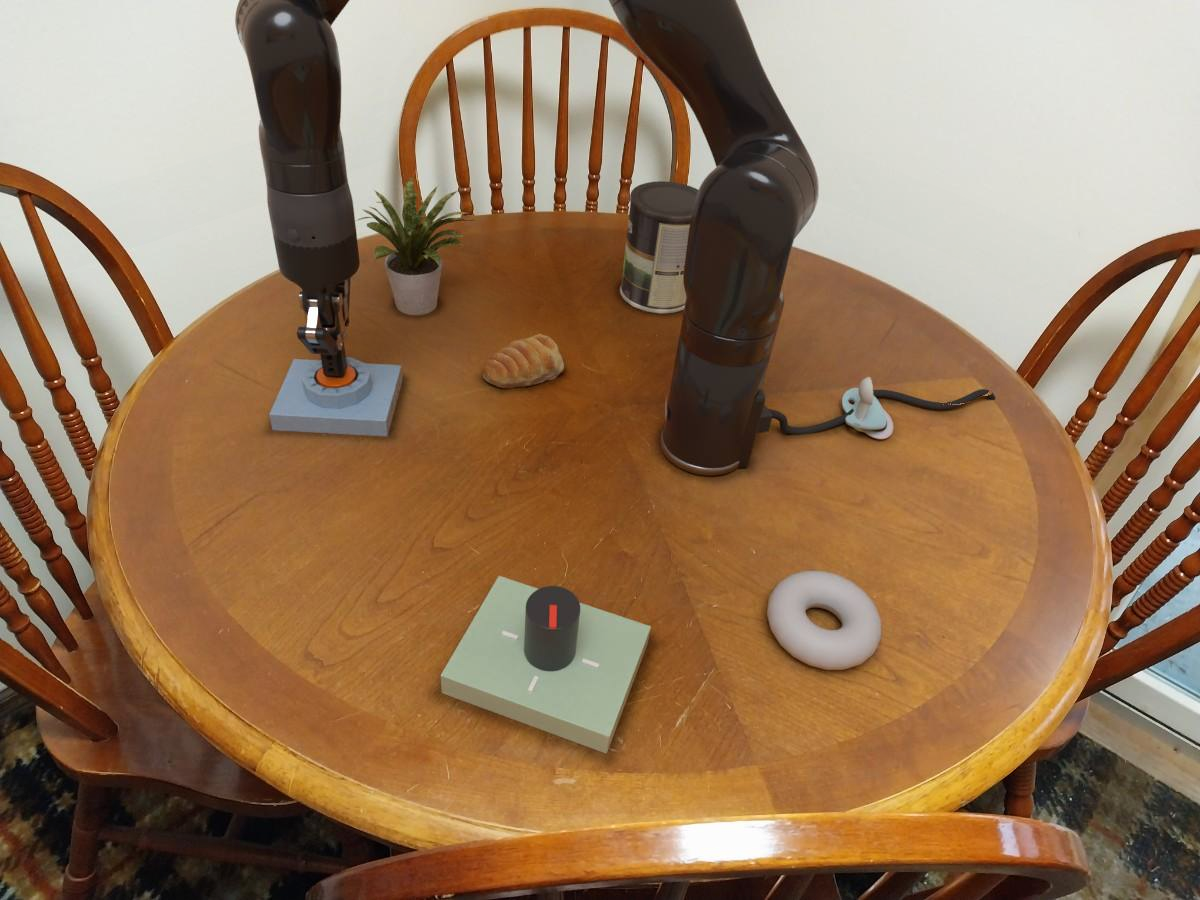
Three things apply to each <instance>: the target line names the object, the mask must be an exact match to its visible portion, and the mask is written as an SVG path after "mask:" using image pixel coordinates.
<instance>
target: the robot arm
mask: <svg viewBox="0 0 1200 900" xmlns="http://www.w3.org/2000/svg"><path fill="white" fill-rule="evenodd" d="M349 2H350V0H238V3H237V6H236V10H235V17H234V24H235V30H236V31H235V32H236V34H237V38H238V40H239V43H240V45H241V47H242V49H243V51H244V53H245V56H246V58H247V63H248V67H249V71H250V76H251V79H252V84H253V89H254V93H255V99H256V104H257V108H258V113H259V117H260V120H259V123H258V141H259V149H260V154H261V159H262V160H261V161H262V165H263V170H264V177H265V182H266V201H267V209H268V215H269V221H270V226H271V231H272V237H273V243H274V247H275V254H276V259H277V263H278V264H277V265H278V270H279V272H280V274H281V275H282V276H283V277H284V278H285V279H286V280H288V281H290V282H291V283H293V284H295V285H296V286H298V287H299V288H300V289H301V290H300V291H299V293H298V302H299V306H300V309H301V310H302V311H303V313H304V319H305V324H306V325H302V326H298V327H297V330H296V336H297V340H299V341H300V342H301V343H302V344H303V346H304V347H305V348H306V349H307V351H309V353H310V354H312V355H320V360H321V362H322V368H323V374H324V375H325V376H326V377H338V378H342V377H344V375H345V372H346V369H347V361H346V357H347V355H346V346H345V341H346V339H347V332H346V331H347V330H346V328H347V327H349V325H350V299H351V279H352V278H353V277H354V276H355V275H356V274H357V272H358V270H359V268H360V264H361V261H360V253H359V245H358V244H359V243H358V235H357V227H356V217H355V208H354V201H353V195H352V192H351V188H350V185H349V179H348V173H347V162H346V154H345V148H344V147H345V146H344V140H343V139H344V138H343V136H342V130H341V118H342V70H341V69H342V68H341V59H340V58H341V57H340V53H339V46H338V42H337V39H336V36H335V32H334V30H333V28H332V25H333V24H334V22H335V21H336V20H337V18H338V17H339V15H340V14H341V13H342V11H344V9H345V7H346V6H347V5H348V3H349ZM608 2H609V4H610V7H611V8H612V11H613V12H614V14H615V17H617V18H616V19H618V21H619V24H620V26H621V27H622V28H623V30H624V32H625V33H626V35H627V36H628V37H629V38H630V40H631V41H632V42H633V43H634V45H635V46H636V48H637V49H638V50H639V51H640V52H641V53H642V54H643V55H644V57H645V58H646V59H647V60H648V61H649V62H650V63H651V64H652V65H653V66H654V67H655V68H656V69H657V70H658V71H659V72H660V73H661V74H662V75H663V76H664V77H665V78H666V79H667V81H669V82H670V83H671V85H672V86H673V87H674V88H675V89H676V90H677V91H678V93H680V95H681V97H683V99H684V100H685V102H686V103H687V104H688V107H690V109H691V111H692V112H693V114H694V116H695V118H696V120H697V122H698V124H699V126H700V128H701V129H700V130H701V131H702V133H703V136H704V137H705V140H706V142H707V143H706V144H707V145H708V148H709V150H710V152H711V156H712V158H713V161H714V164H715V166H716V167H715V168H714V169H713V170H711V171H710V172H709V173H708V175H706V177H705V178H704V179H703V181H702V182H701V184H700V186H699V188H698V193H697V195H696V198H695V202H694V206H693V210H692V215H691V221H690V227H689V235H688V242H687V250H686V258H685V266H684V274H683V283H684V289H685V293H686V301H685V308H684V310H683V314H682V319H681V325H680V331H679V337H678V343H677V348H676V353H675V359H674V365H673V371H672V376H671V382H670V388H669V393H668V395H666V396H665V402H664V414H665V415H664V422H663V425H662V429H661V434H660V439H659V441H660V442H659V444H660V450H661V451H662V453H663V455H664V457H665V458H666V459H667V460H668V461H669V462H670V463H671V464H673V465H674V466H675V467H677V468H678V469H680V470H682V471H685V472H688V473H691V474H694V475H698V476H706V477H714V476H715V477H717V476H722V475H726V474H727V475H728V474H729V473H732V472H734V471H736V470H737V469H747V468H748V467H749V464H750V463H749V462H750V459H751V456H752V452H753V451H752V450H753V449H754V446H755V445H754V444H755V440H756V437H757V434H762V433H769V431H770V427H771V425H772V421H773V419H774V420H777V421H778V422H779V428H780V430H781V431H782V432H783V433H785V434H787V435H792V436H802V435H811V434H816V433H821V432H824V431H826V430H830V429H832V428H835V427H837V426H840V425H842V424H844V423H846V422H845V419H846V417H847V416H848V415H851V414H852V413H853V412H854V410H853V408H852V409H851V410H850V411H849V412H848V413H847V412H846V413H845V412H844V413H843V414H841V415H840V416H837V417H835V418H833V419H830V420H826V421H824V422H820V423H817V424H813V425H809V426H803V427H800V426H799V427H798V426H797V427H796V426H791V425H789V423H788V422H789V421H788V418H787V416H786V415H785V414H784V413H782V412H780V411H779V410H776V409H771V408H768V407H767V405H766V400H767V399H766V397H767V396H766V393H765V388H764V383H765V378H766V374H767V371H768V367H769V365H770V360H771V356H772V351H773V347H774V344H775V342H776V341H775V340H776V337H777V333H778V329H779V326H780V322H781V318H782V315H783V311H784V306H785V297H784V294H783V291H782V288H783V284H784V283H783V282H784V280H785V275H786V271H787V267H788V262H789V259H790V255H791V252H792V249H793V248H792V247H793V246H794V245H793V244H794V241H795V239H796V238H797V237H798V235H800V233H801V231H802V230H803V229H804V227H805V226H806V225H808V224H807V223H808V222H809V220H810V219H811V217H812V216H813V214H814V212H815V210H816V207H817V204H818V202H819V201H818V200H819V195H820V194H819V190H820V183H819V176H818V173H817V170H816V165H815V164H814V162H813V158H811V154H810V152H809V151H808V149H807V148H806V146H805V143H804V142H803V140H802V138H801V137H800V135H799V133H798V131H797V129H796V128H795V126H794V124H793V122H792V120H791V119H790V117H789V115H788V112H787V111H786V110H785V107H784V106H783V104H782V102H781V100H780V98H779V97H778V95H777V93H776V91H775V89H774V88H773V85H772V83H771V82H770V80H769V77H768V75H767V73H766V71H765V69H764V67H763V65H762V62H761V60H760V58H759V54H758V53H757V50H756V47H755V45H754V41H753V39H752V37H751V34H750V31H749V29H748V26H747V23H746V21H745V18H744V16H743V13H742V11H741V9H740V7H739V4H738V2H737V0H608ZM989 391H990V390H989V389H986V388H982V389H978V390H974V391H972V392H971V393H968V394H966V395H964V396H962V397H960V398H957V399H955V400H954V399H953V400H951V401H952V402H951V401H946V402H947V403H940V402H941V401H931V400H926V399H922V398H919V397H916V396H912V395H909V394H906V393H902V392H899V391H894V390H890V389H889V390H888V389H873V395H874V396H875V397H876V398H886V399H893V400H897V401H901V402H903V403H906V404H910V405H912V406H916V407H918V408H919V407H920V408H924V409H928V410H934V411H947V410H954V409H956V408H959V407H962V406H964V405H966V404H967V403H966V402H968V401H970V402H973V401H974V400H976V398H977V399H979V398H982V397H981V396H983V395H985V394H987V393H988V392H989ZM978 397H979V398H978ZM983 397H984V398H986V399H987V400H989V401H995V400H996V395H995V394H994V393H993V392H992V394H991V395H988V396H983ZM950 403H951V405H950ZM960 403H965V404H961V405H952V404H960ZM968 403H969V402H968ZM851 404H852V405H854V404H855V403H854V401H852V403H851ZM943 404H944V405H943ZM948 404H949V405H948Z"/></svg>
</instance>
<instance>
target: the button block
mask: <svg viewBox="0 0 1200 900" xmlns="http://www.w3.org/2000/svg"><path fill="white" fill-rule="evenodd" d="M346 361H347V365H349V366H351V367H352V368H353V369H354V370H355V374H356V381H355V382H353V383H352V384H350V385H349V386H345V387H341V388H337V389H336V388H325V387H323V386H320V385H318V382H317V373H318V371H319V370H320V369H321V368H322V362H321V359H305V358H304V359H302V358H301V359H300V358H293V360H292V362H291V364H290V367H289V369H288V371H287V374H286V376H285V378H284V380H283V383H282V385H281V387H280V389H279V392H278V394H277V396H276V398H275V401H274V402H273V406H272V407H271V409H270V412H269V414H268V416H269V420H270V425H271V429H272V431H281V432H298V433H299V432H300V433H319V434H334V435H335V434H336V435H355V436H372V437H388V436H389V433H390V429H391V425H392V422H393V417H394V415H395V410H396V407H397V405H398V404H397V403H398V401H399V400H398V399H399V396H400V392H401V388H402V384H403V379H404V377H403V370H402V369H403V368H402V365H400V364H387V363H370V362H364V361H361V360H359V359H356V358H355V357H350V356H346Z"/></svg>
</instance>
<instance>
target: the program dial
mask: <svg viewBox="0 0 1200 900" xmlns="http://www.w3.org/2000/svg"><path fill="white" fill-rule="evenodd" d="M579 602H580V600H579V599H578V597H577V596H576V595H575V594H574V592H572V591H571V590H569V589H567V588H565V587H563V586H558V585H547V586H542V587H540V588H538V590H536V591H535V592H533V593H532V594H531V595H530V597H529V598H528V600H527V603H526V612H525V635H524V654H525V657H526V658H527V660H528V661H529V663H530V664H531V665H533V666H534V667H536V668H538V669H540V670H543V671H557V670H560V669H563V668H565V667H566V666H568V665H569V664H570V663H571V662H572V660H573V659H574V657H575V653H576V645H577V636H578V627H579V618H580V603H581V602H580V603H579Z"/></svg>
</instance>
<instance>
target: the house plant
mask: <svg viewBox="0 0 1200 900" xmlns="http://www.w3.org/2000/svg"><path fill="white" fill-rule="evenodd" d="M438 187H439V184H438V185H437V186H435V187H434V189H433V190H431V191H430V193H429V194H428V195H427V196H426V198H425V199H424V200H423V202H422V203H421V204H420V206H419V207H418V206H417V205H418V196H417V193H416V190H415V183H414V179H413V175H411V176H409V178H408V180H407V182H406V179H405V181H404V183H403V197H402V198H403V205H402V212H401V213H402V215H401V216H402V217H401V218H402V221H403V223H402V221H401V219H400V217H399V215H398V213H397V211H396V209H395V208H394V206H393V205H392V204H391V202H390V201H389V200H388V199H387V198H386V197H385V196H384V195H383V194H381V193H379V192H378V191H377V190H374V192H375V195H376V196H377V198H379V199H380V201H377V203H379V204H382V206H383V208H384V209H385V211H386V212H387V214H388V216H389V218H390V219H391V222H392V224H391V222H390V221H389V219H388V218H387V217H386V216H385V215H383V214H382V213H381V212H380V211H379V210H378V209H377V208H375V207H372V206H367V207H369V208H370V209H372V210H374V211H376V212H377V213H378V214H379V216H381V217H382V218H383V219H382V218H380V217H379V216H377V215H376V214H374V212H372V211H370V210H366V209H362V208H361V210H362V211H364V212H365V213H366V214H368V215H370V216H365V217H364V216H363V217H360V218H358V219H357V220H356V219H355V222H357V221H361V220H364V219H374V220H375V221H370V222H367V223H366V227H367V228H369V229H371V230H372V231H374V232H376V233H378V234H380V235H381V236H383V237H385V238H386V239H387V240H388V241H389V242H390V243H391V244H392V245H393V247H394V248H395V249H396V250H393V249H391V248H390V247H388V246H385V245H378V246H376V247H375V249H374V254H373V257H372V258H374V262H376V260H379V259H381V258H384V257H386V258H385V260H384V267H385V270H386V274H387V278H388V283H389V285H390V289H391V292H392V297H393V299H394V304H395V307H396V309H397V310H398V311H399V312H401V313H403V314H405V315H409V316H423V315H427V314H429V313H432V312H433V311H434V310H436V308H437V305H438V297H439V289H440V284H441V275H442V269H443V259H442V257H441V256H440V254H439V252H438V251H437V250H438V249H440V248H442V247H448V246H456V245H460V246H463V247H464V248H466V247H465V246H464V243H462V242H461V241H460V240H459V239H457V238H465V237H466V238H467V237H468V235H463V234H462V233H460V232H459V231H457V230H454V229H443V230H440V231H438V232H437V233H435V232H436V230H438V228H440V227H442V226H444V225H446V224H450V223H451V224H452V223H455V222H456V223H457V222H473V221H474V222H475V221H476V219H466V218H455V217H452V216H457V215H466V214H471V212H468V211H453V212H450V213H447V214H446V213H445V214H444V215H442V216H440V217H438V215H439V214H440V213H441V212H442V211H443V210H444V207H445V205H446V203H447V202H448V201H449V200H450V199H451V198H452V197H453V196H454V195H455V194H457V193H458V192H459V191H458V190H457V191H453V192H450V193H448V194H445V196H443V197H442V198H440V199H439V200H438V201H437V202H436V203H435V205H434V206H433V207H432V208H431V209H430V211H429V212H427V209H428V208H429V205H430V203H431V200H432V199H433V197H434V195H435V194H436V192H437V189H438ZM417 208H418V209H417ZM425 214H426V216H425ZM424 216H425V217H424ZM437 217H438V218H437ZM436 218H437V219H436ZM423 219H424V220H423ZM392 225H393V226H392ZM434 233H435V234H434ZM433 234H434V235H433ZM450 235H451V236H450ZM444 236H450V237H447V238H443V239H441V240H438V241H436V240H437V239H439V238H440V237H444ZM435 241H436V242H435ZM433 242H434V243H433Z"/></svg>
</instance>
